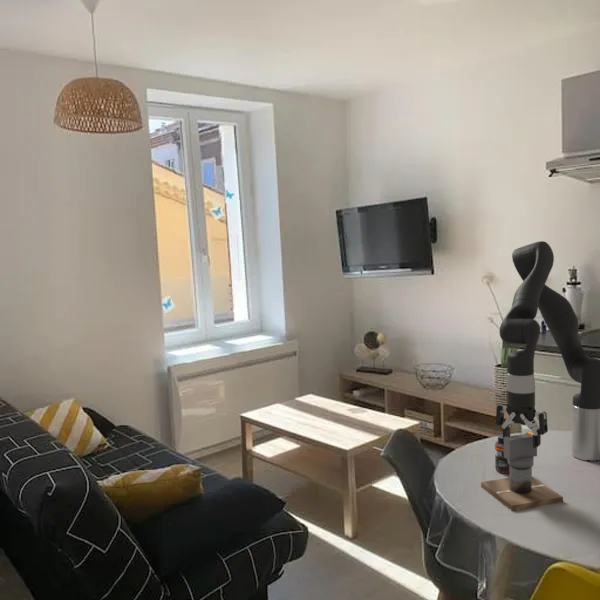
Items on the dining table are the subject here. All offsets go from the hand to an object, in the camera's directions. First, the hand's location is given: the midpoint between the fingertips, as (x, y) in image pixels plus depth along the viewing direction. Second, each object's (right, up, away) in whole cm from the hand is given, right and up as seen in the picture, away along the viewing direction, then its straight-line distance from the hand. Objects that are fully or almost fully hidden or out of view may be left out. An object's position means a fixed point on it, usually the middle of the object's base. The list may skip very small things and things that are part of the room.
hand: (521, 443), depth 171 cm
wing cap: (0, -6, +1) cm, 6 cm away
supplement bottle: (+2, -13, +19) cm, 23 cm away
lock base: (+1, -15, +2) cm, 15 cm away
